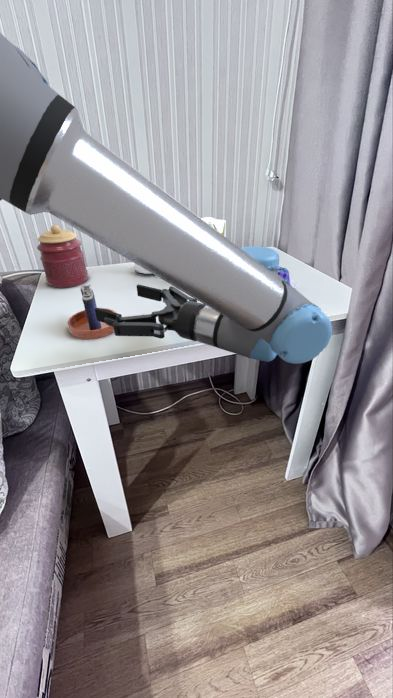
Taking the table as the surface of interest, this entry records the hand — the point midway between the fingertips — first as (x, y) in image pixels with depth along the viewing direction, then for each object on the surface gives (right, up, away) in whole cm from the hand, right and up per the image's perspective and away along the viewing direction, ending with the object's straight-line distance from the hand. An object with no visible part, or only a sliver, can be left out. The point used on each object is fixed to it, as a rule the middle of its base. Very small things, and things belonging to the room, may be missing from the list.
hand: (118, 301), depth 72 cm
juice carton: (+22, +11, +32) cm, 40 cm away
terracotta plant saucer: (-8, -5, +9) cm, 13 cm away
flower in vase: (+2, +16, +41) cm, 44 cm away
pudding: (+42, +9, +29) cm, 52 cm away
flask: (-8, -5, +9) cm, 13 cm away
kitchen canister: (-25, +12, +35) cm, 44 cm away
